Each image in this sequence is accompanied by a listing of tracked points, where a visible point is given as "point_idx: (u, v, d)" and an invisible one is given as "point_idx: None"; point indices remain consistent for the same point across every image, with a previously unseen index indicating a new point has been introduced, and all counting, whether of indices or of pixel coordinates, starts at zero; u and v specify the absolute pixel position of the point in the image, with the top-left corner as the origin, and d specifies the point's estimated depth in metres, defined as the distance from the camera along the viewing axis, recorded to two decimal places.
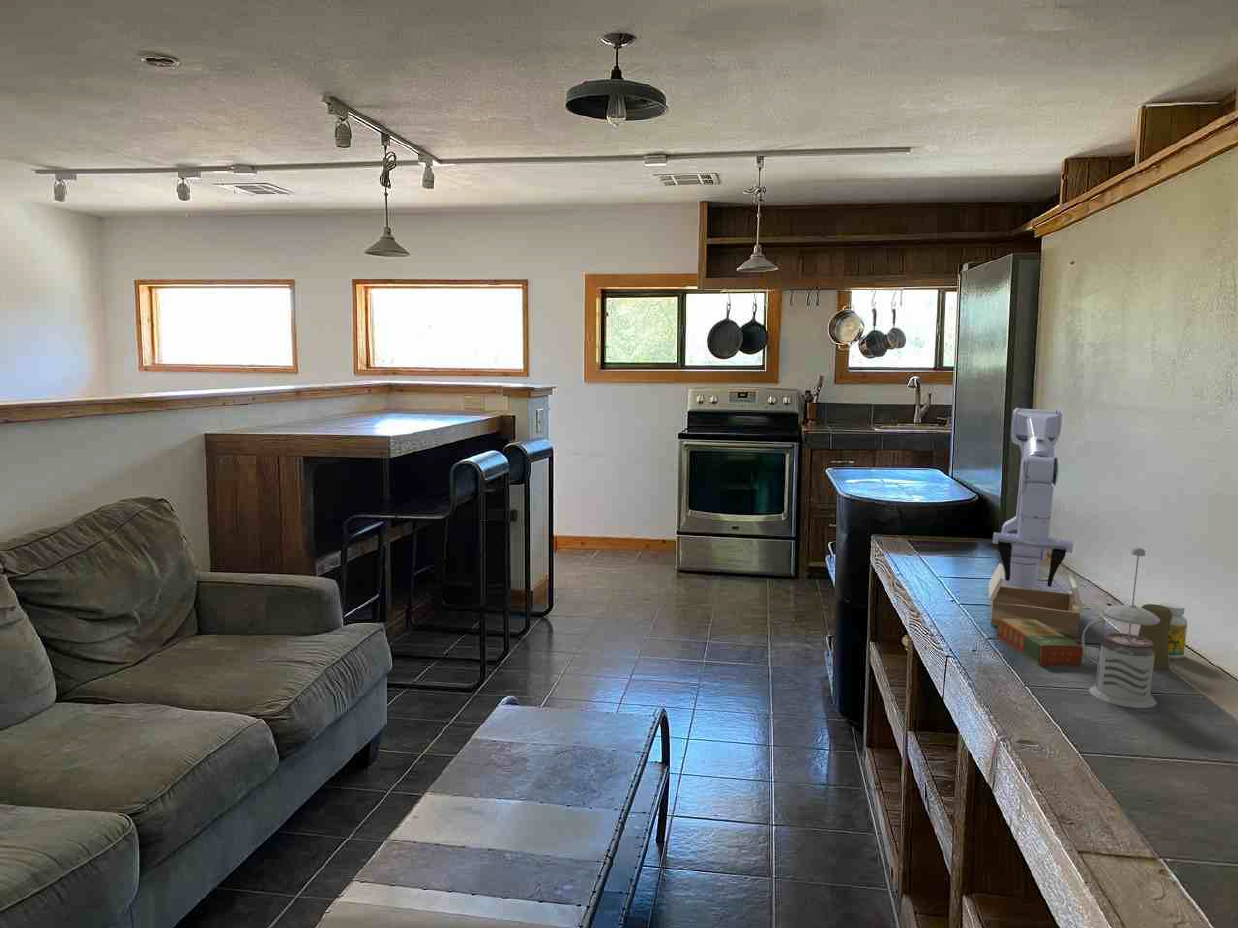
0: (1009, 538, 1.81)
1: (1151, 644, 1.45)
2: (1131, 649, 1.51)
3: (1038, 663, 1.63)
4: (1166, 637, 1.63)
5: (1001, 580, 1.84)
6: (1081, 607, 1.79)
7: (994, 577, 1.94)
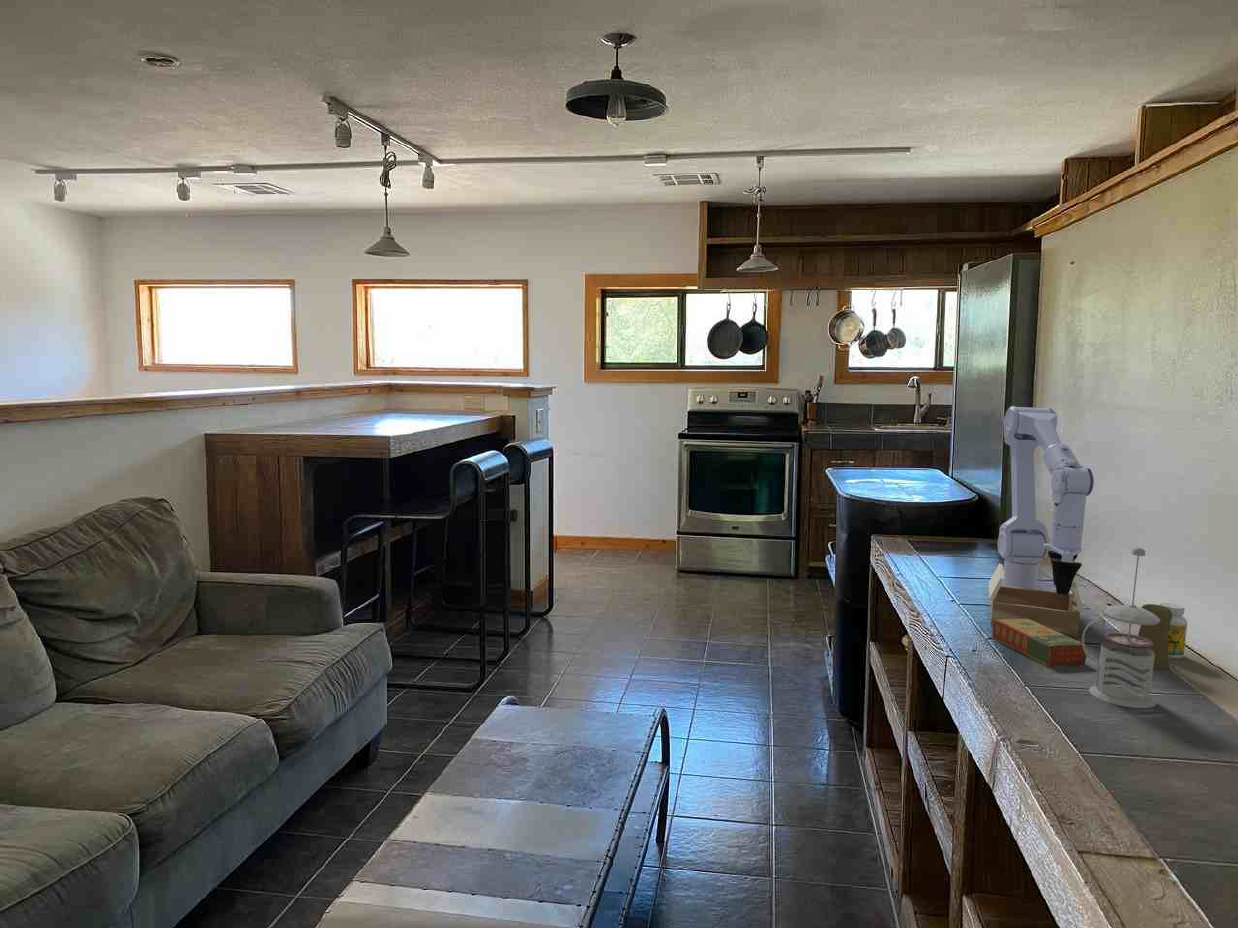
0: None
1: (1151, 644, 1.45)
2: (1131, 649, 1.51)
3: (1046, 664, 1.62)
4: (1166, 637, 1.63)
5: (1001, 580, 1.84)
6: (1081, 607, 1.79)
7: (994, 577, 1.94)
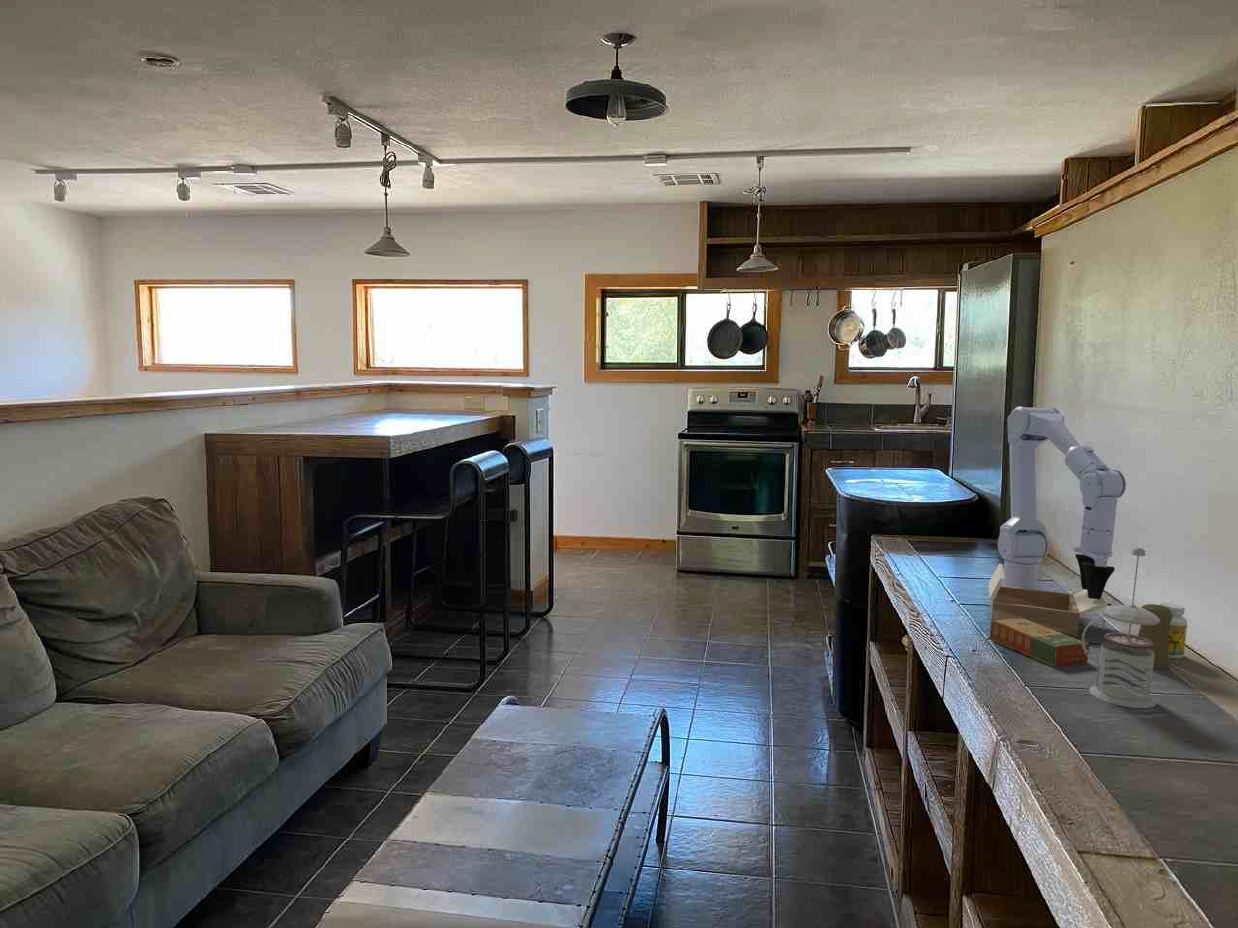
0: None
1: (1151, 644, 1.45)
2: (1131, 649, 1.51)
3: (1053, 664, 1.62)
4: (1166, 637, 1.63)
5: (1001, 580, 1.84)
6: (1085, 612, 1.79)
7: (994, 577, 1.94)
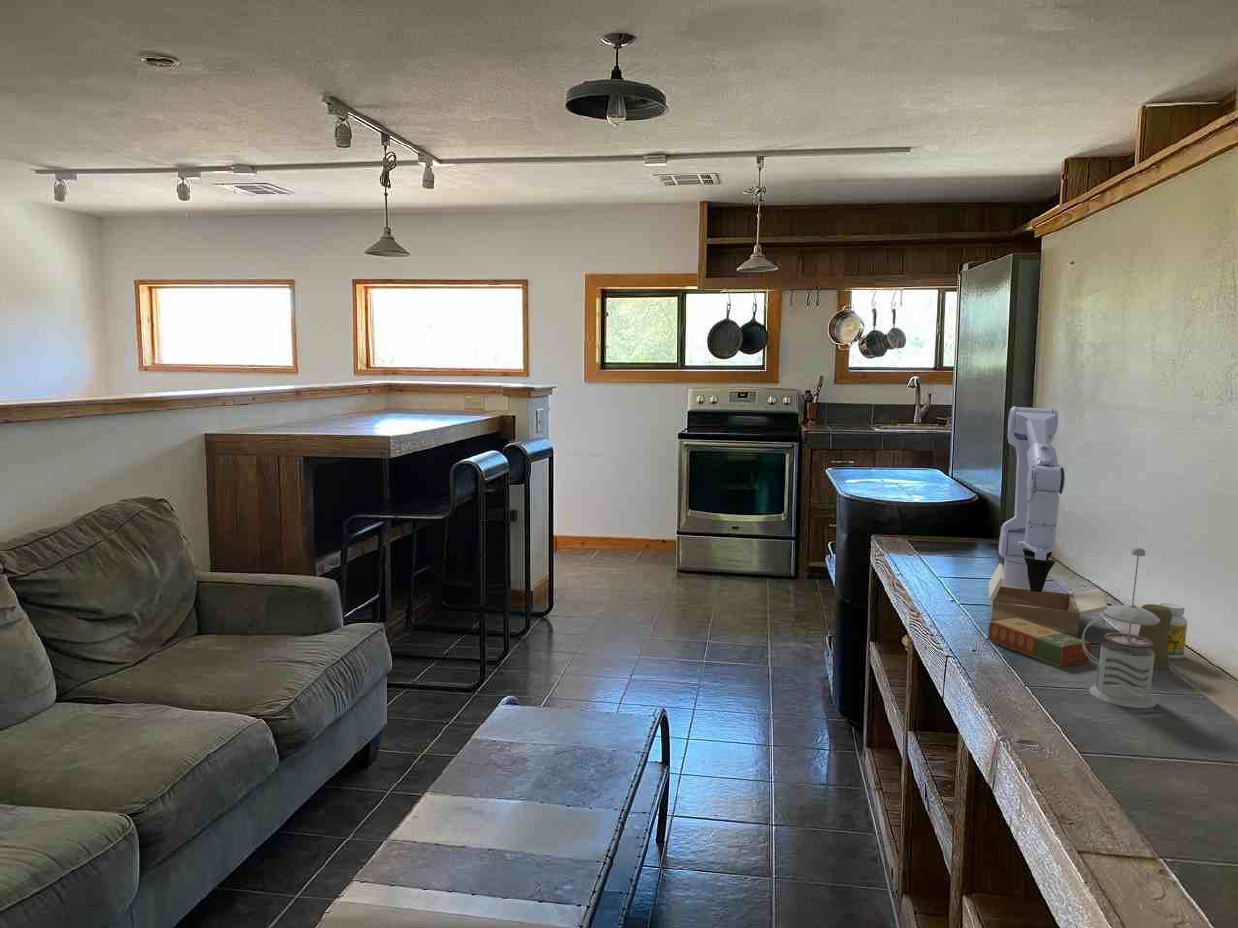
0: None
1: (1151, 644, 1.45)
2: (1131, 649, 1.51)
3: (1058, 665, 1.62)
4: (1166, 637, 1.63)
5: (1001, 580, 1.84)
6: (1085, 613, 1.79)
7: (994, 577, 1.94)
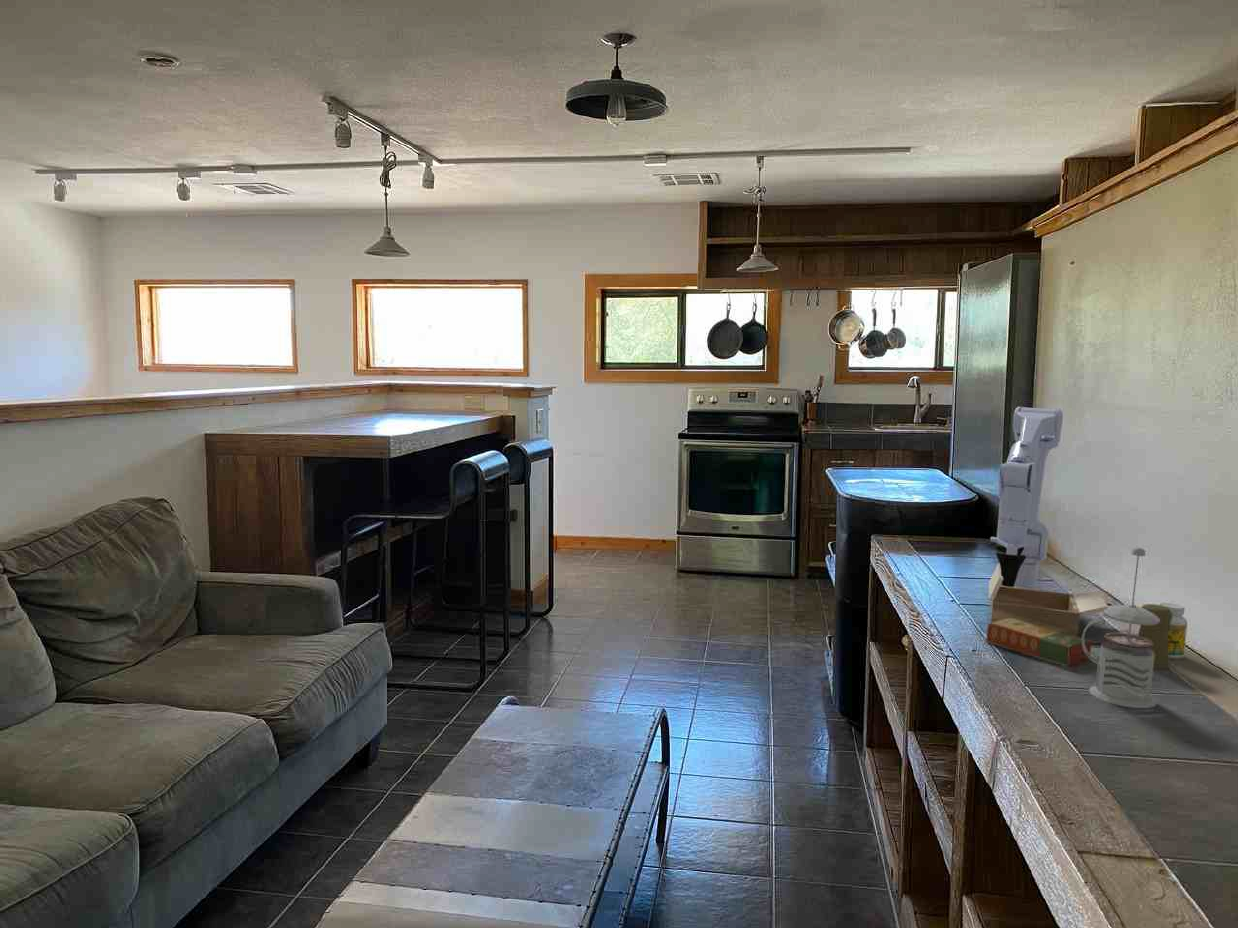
0: None
1: (1151, 644, 1.45)
2: (1131, 649, 1.51)
3: (1066, 665, 1.62)
4: (1166, 637, 1.63)
5: (1000, 580, 1.85)
6: (1085, 613, 1.79)
7: (993, 577, 1.94)
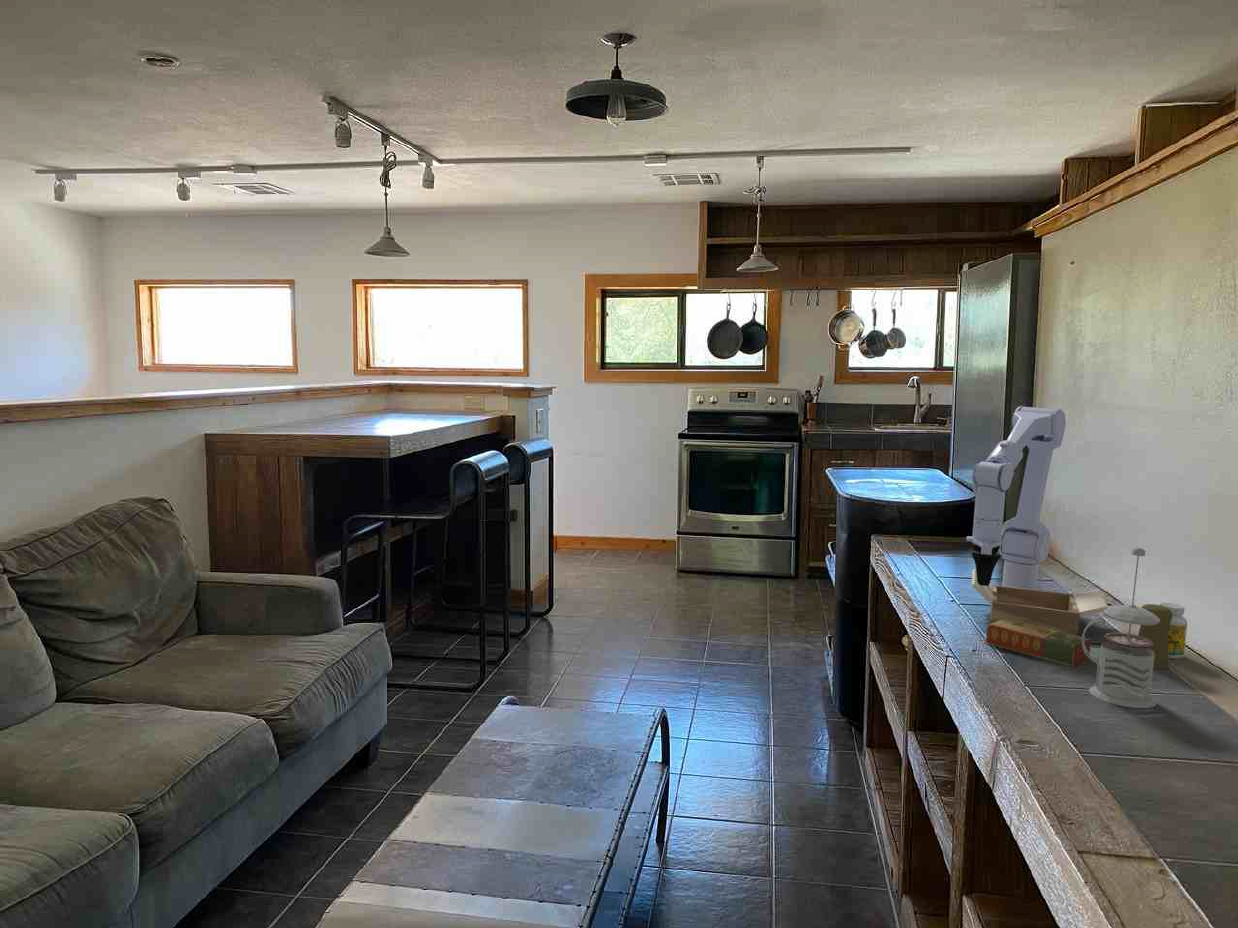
0: None
1: (1151, 644, 1.45)
2: (1131, 649, 1.51)
3: (1070, 665, 1.63)
4: (1166, 637, 1.63)
5: (974, 585, 1.87)
6: (1085, 613, 1.79)
7: None
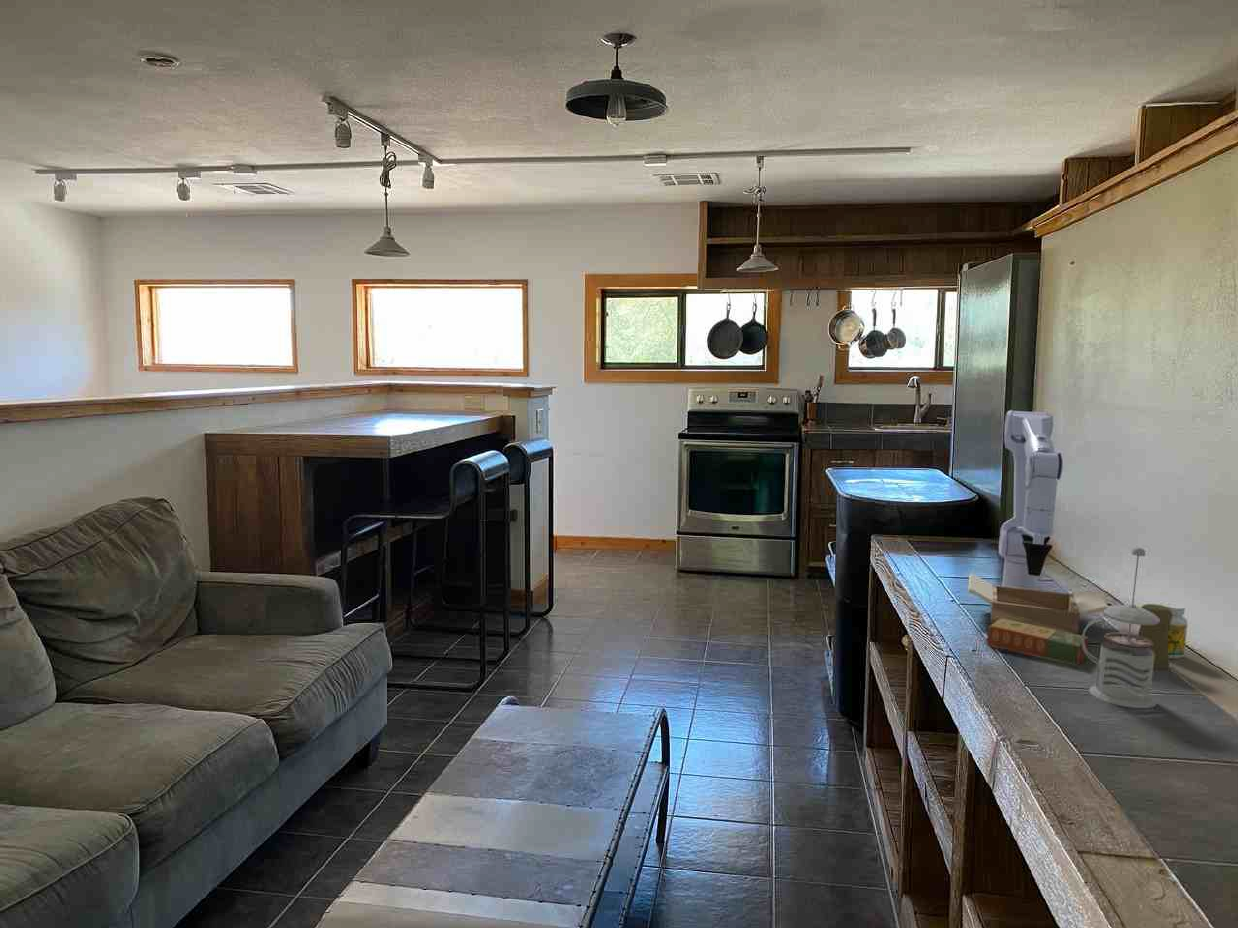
0: None
1: (1151, 644, 1.45)
2: (1131, 649, 1.51)
3: (1076, 664, 1.63)
4: (1166, 637, 1.63)
5: (971, 590, 1.87)
6: (1085, 613, 1.79)
7: None
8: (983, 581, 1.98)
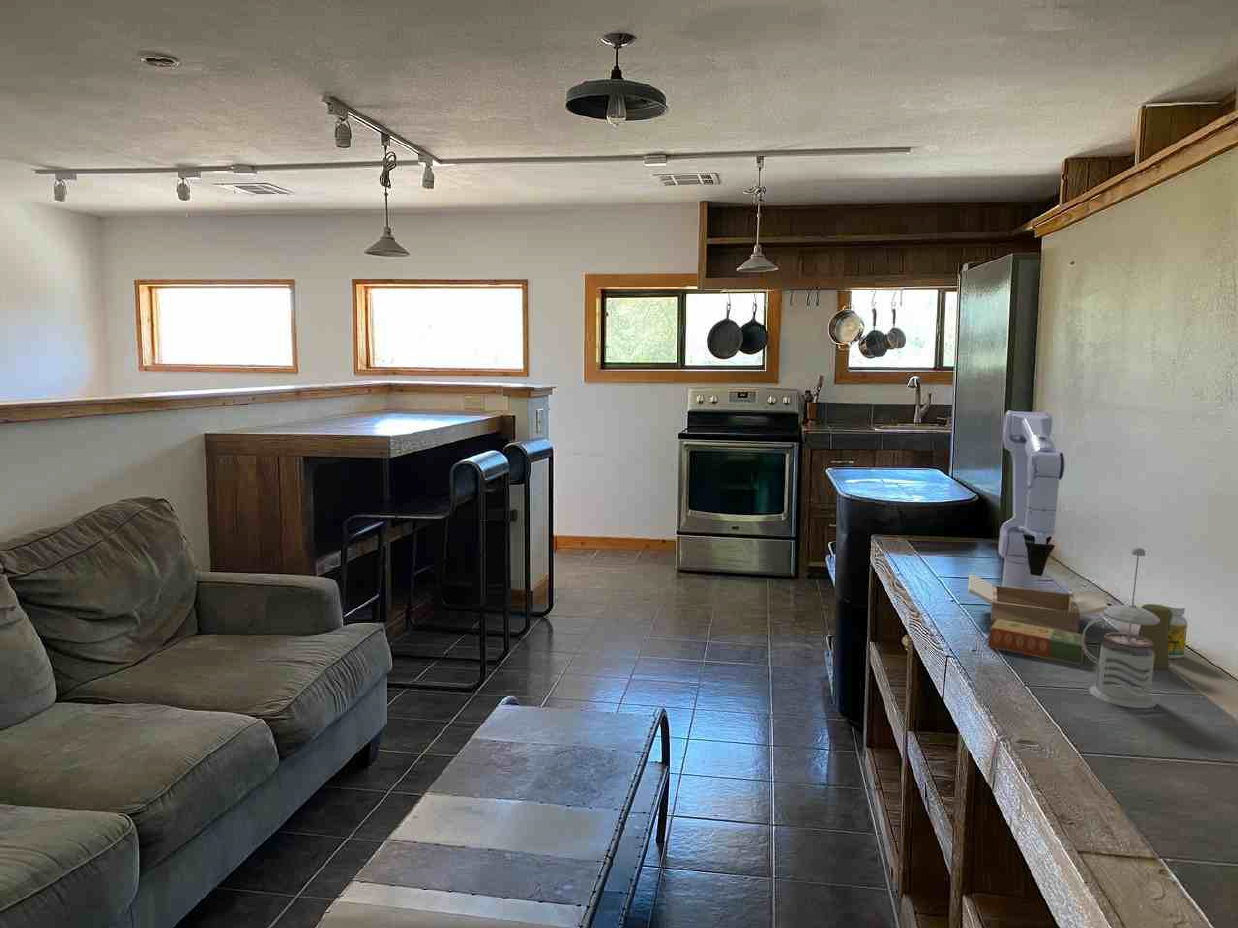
0: None
1: (1151, 644, 1.45)
2: (1131, 649, 1.51)
3: (1079, 663, 1.64)
4: (1166, 637, 1.63)
5: (970, 591, 1.87)
6: (1085, 613, 1.79)
7: None
8: (983, 581, 1.98)
